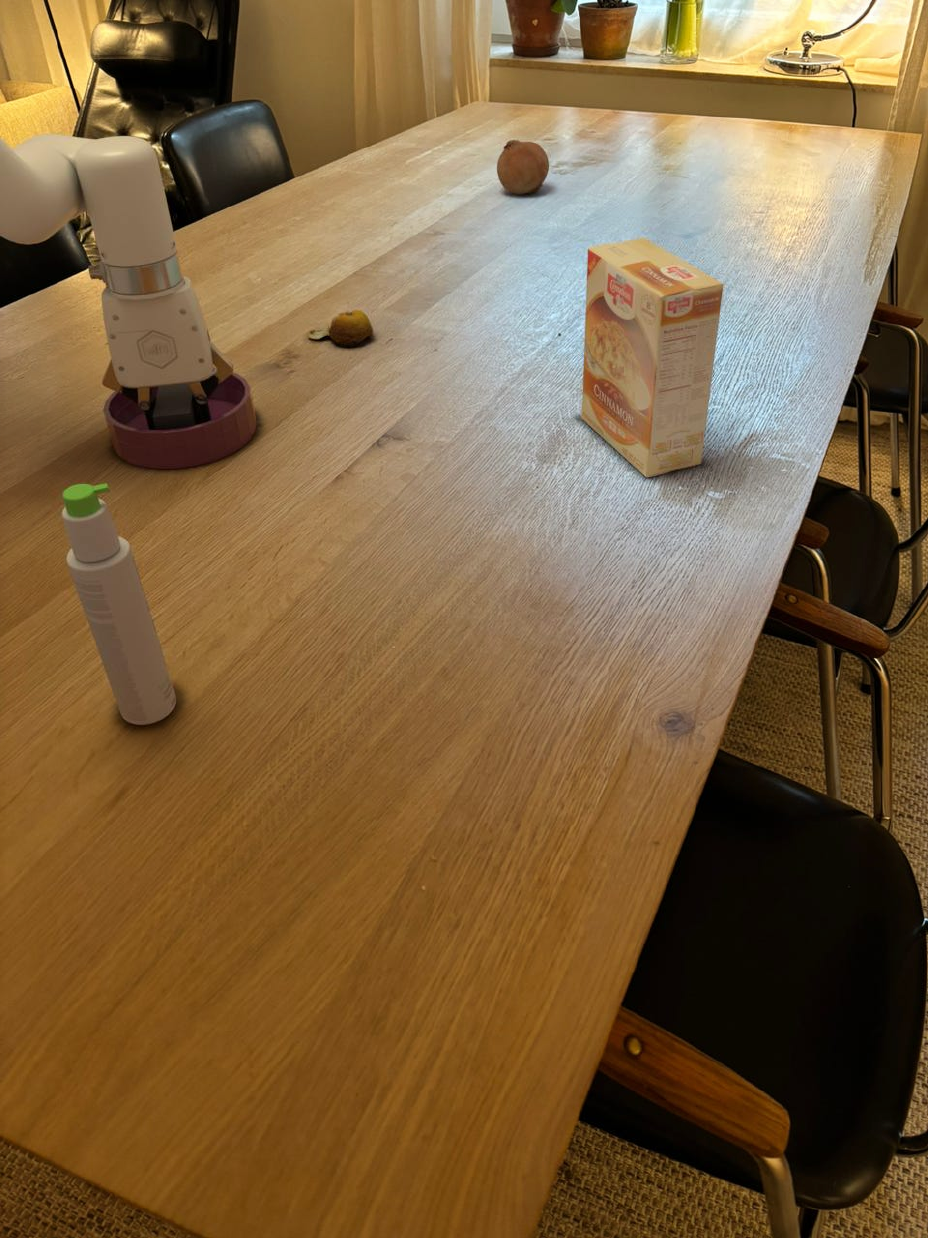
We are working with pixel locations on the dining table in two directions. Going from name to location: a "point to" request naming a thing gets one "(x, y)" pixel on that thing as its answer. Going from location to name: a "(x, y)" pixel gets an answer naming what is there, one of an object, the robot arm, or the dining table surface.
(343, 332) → the fruit
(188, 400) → the eraser
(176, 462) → the bowl
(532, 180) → the onion
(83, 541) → the bottle
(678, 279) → the coffeecake box
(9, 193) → the robot arm
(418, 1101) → the dining table surface
